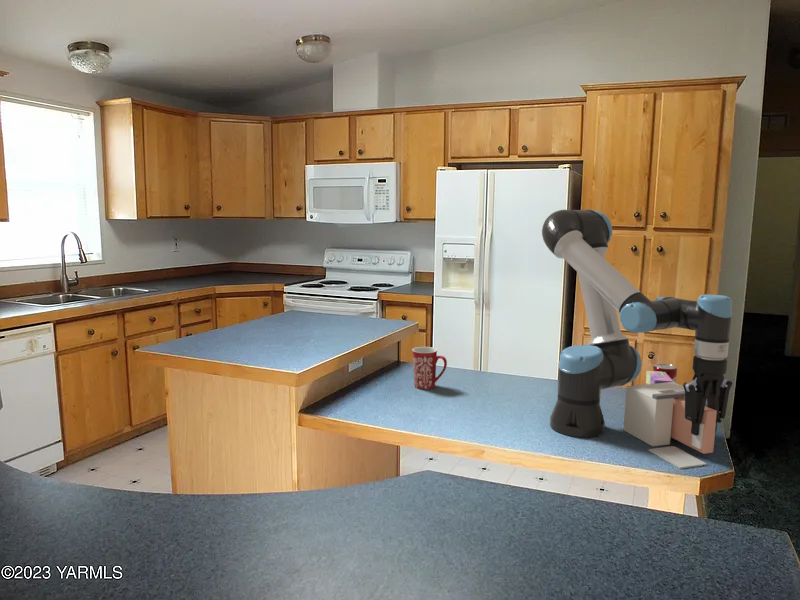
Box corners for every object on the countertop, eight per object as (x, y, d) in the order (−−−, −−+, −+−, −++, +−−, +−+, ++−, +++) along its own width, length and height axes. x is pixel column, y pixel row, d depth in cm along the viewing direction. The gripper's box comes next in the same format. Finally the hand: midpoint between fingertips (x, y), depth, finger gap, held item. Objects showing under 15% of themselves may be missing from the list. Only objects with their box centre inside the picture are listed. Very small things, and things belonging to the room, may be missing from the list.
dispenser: (652, 446, 151) (656, 396, 149) (623, 429, 163) (626, 382, 160) (701, 440, 156) (706, 391, 153) (669, 424, 167) (673, 378, 165)
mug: (407, 388, 199) (407, 350, 197) (417, 381, 207) (418, 345, 205) (440, 393, 194) (441, 355, 192) (450, 386, 202) (451, 349, 200)
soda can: (669, 398, 191) (672, 363, 189) (677, 405, 184) (681, 369, 182) (647, 397, 192) (650, 362, 190) (654, 404, 184) (657, 368, 183)
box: (670, 418, 172) (674, 380, 170) (650, 417, 173) (653, 379, 171) (662, 407, 182) (665, 371, 180) (643, 405, 183) (646, 370, 181)
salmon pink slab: (703, 453, 143) (707, 411, 141) (668, 435, 154) (671, 397, 153) (713, 452, 144) (716, 410, 142) (677, 434, 155) (680, 396, 154)
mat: (679, 468, 138) (680, 467, 138) (648, 450, 148) (648, 449, 148) (706, 465, 140) (706, 463, 140) (673, 447, 151) (673, 446, 151)
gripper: (695, 362, 136) (688, 455, 139) (748, 358, 140) (739, 448, 144) (672, 355, 143) (665, 443, 147) (723, 351, 148) (715, 437, 151)
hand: (702, 445), depth 145 cm, fingers closed on salmon pink slab, 3 cm apart
